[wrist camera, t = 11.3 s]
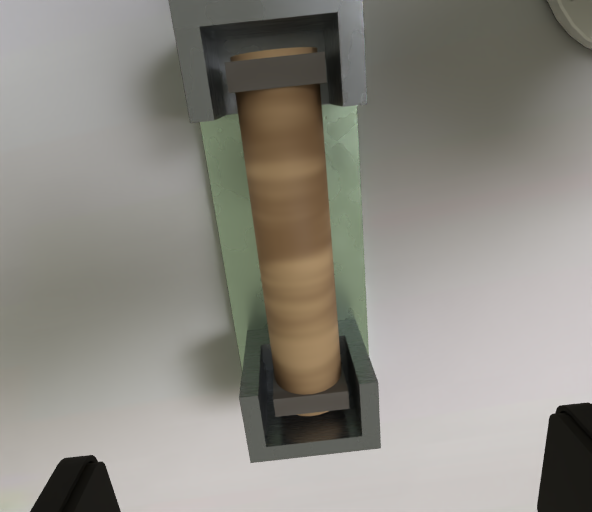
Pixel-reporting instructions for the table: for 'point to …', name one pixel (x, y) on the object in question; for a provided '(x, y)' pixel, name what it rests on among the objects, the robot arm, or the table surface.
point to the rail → (291, 222)
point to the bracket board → (238, 215)
